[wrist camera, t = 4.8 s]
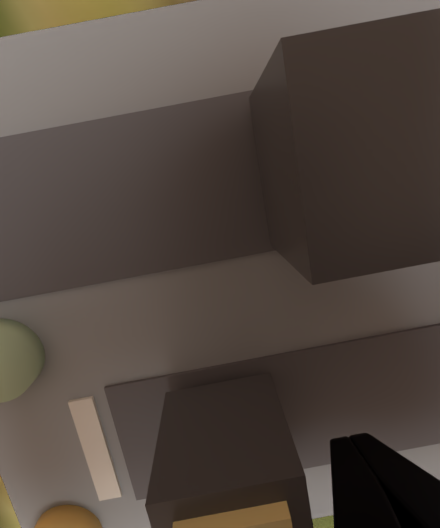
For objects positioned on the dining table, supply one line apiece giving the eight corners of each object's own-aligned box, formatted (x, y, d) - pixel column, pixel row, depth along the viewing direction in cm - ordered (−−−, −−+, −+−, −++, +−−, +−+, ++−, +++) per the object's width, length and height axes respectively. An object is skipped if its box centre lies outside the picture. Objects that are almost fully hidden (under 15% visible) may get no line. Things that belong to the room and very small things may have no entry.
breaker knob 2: (373, 74, 7) (496, -3, 4) (384, 224, 8) (496, 250, 5) (248, 98, 7) (281, 37, 4) (270, 245, 8) (312, 285, 5)
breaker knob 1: (269, 372, 8) (311, 492, 5) (287, 477, 9) (333, 639, 6) (165, 392, 8) (142, 523, 5) (190, 495, 9) (184, 667, 6)
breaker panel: (836, -93, 8) (1010, -168, 6) (745, 399, 11) (846, 440, 9) (-108, 83, 8) (-193, 56, 6) (55, 529, 11) (27, 594, 9)
